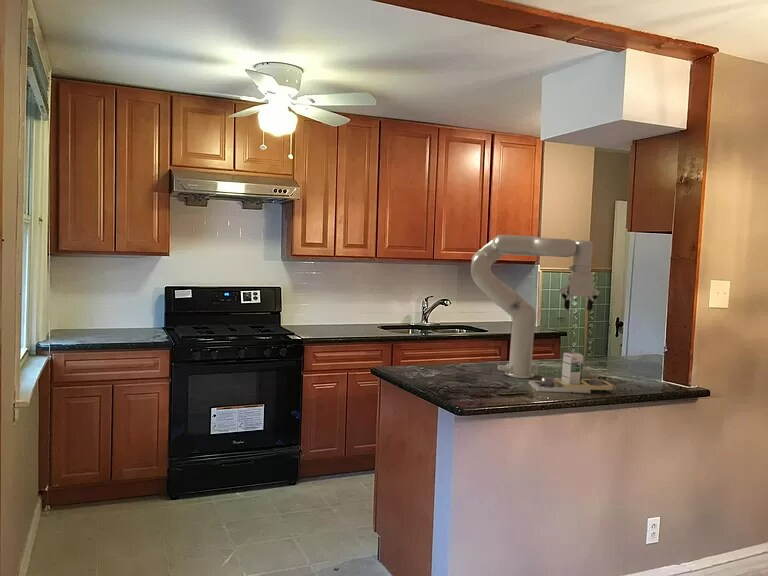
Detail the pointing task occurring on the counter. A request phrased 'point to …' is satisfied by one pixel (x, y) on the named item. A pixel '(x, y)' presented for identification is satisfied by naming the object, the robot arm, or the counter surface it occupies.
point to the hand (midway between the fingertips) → (578, 309)
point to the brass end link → (588, 385)
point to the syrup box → (572, 368)
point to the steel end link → (549, 384)
